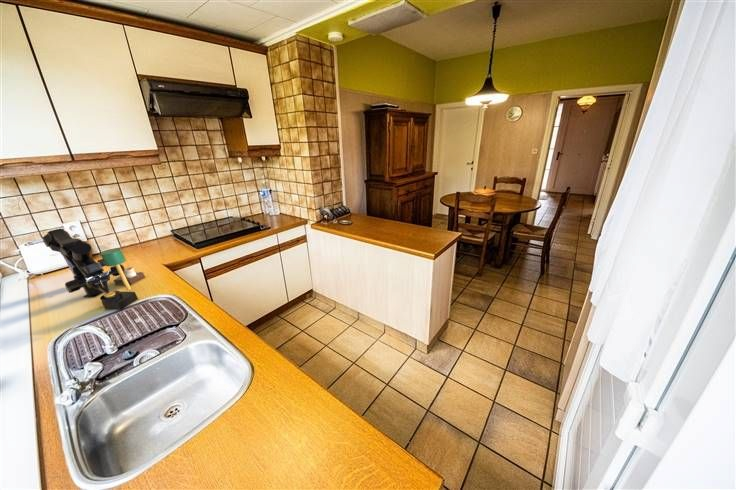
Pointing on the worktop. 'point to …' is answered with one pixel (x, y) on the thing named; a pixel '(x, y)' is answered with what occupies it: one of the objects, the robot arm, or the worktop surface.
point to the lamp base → (118, 300)
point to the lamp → (115, 262)
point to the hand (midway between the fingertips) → (108, 293)
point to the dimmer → (129, 272)
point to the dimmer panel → (130, 279)
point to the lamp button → (109, 294)
